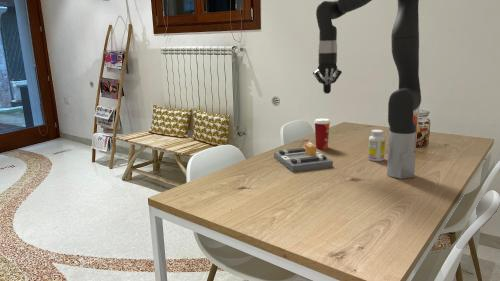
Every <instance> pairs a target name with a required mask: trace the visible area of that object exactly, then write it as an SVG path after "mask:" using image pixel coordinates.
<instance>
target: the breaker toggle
mask: <svg viewBox="0 0 500 281" xmlns="http://www.w3.org/2000/svg"><path fill="white" fill-rule="evenodd" d="M304 148H305V154H306V155H308V156H315V155H316V151H317V148H316V144H313V143H312V142H310V141H308V142H307V143H305V144H304Z"/></svg>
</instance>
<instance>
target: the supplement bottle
mask: <svg viewBox="0 0 500 281" xmlns="http://www.w3.org/2000/svg"><path fill="white" fill-rule="evenodd" d="M383 134H384V130H382V129H371V135H370V136H369V137H368V151H367V153H368V155H367V158H368V160H370V161H372V162H382V161H384V160H385V149H386V148H385V146H386V145H385V144H386V138H385V136H383Z"/></svg>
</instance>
